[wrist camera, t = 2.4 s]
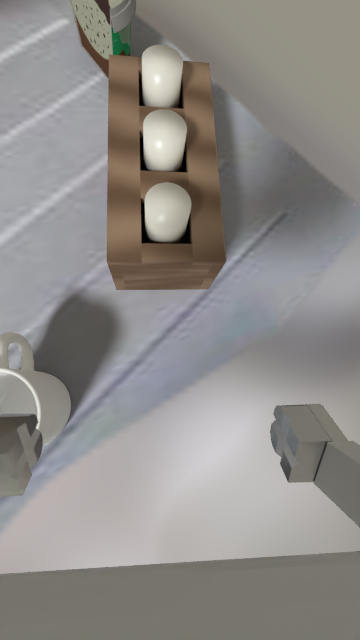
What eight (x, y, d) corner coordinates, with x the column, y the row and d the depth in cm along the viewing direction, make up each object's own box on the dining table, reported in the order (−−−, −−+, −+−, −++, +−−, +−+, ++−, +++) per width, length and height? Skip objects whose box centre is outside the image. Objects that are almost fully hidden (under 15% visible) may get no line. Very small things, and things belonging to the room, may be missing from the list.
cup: (-5, 451, 31) (-75, 483, 21) (-2, 343, 34) (-64, 327, 24) (73, 441, 32) (41, 467, 22) (71, 337, 35) (40, 320, 25)
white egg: (185, 249, 31) (192, 224, 26) (145, 248, 31) (145, 223, 26) (183, 213, 32) (190, 183, 27) (144, 212, 32) (144, 181, 27)
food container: (153, 80, 45) (155, -4, 35) (120, 95, 43) (112, 12, 33) (109, 26, 46) (98, -70, 36) (75, 39, 45) (55, -56, 35)
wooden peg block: (207, 289, 38) (225, 261, 29) (116, 289, 37) (106, 260, 28) (196, 127, 43) (209, 63, 35) (117, 122, 42) (109, 54, 33)
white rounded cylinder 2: (182, 181, 33) (188, 147, 28) (144, 180, 32) (143, 144, 28) (180, 149, 34) (185, 110, 29) (143, 147, 33) (142, 107, 29)
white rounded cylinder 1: (179, 121, 35) (184, 78, 30) (142, 118, 34) (142, 75, 29) (177, 92, 36) (182, 46, 31) (142, 89, 35) (141, 42, 30)
